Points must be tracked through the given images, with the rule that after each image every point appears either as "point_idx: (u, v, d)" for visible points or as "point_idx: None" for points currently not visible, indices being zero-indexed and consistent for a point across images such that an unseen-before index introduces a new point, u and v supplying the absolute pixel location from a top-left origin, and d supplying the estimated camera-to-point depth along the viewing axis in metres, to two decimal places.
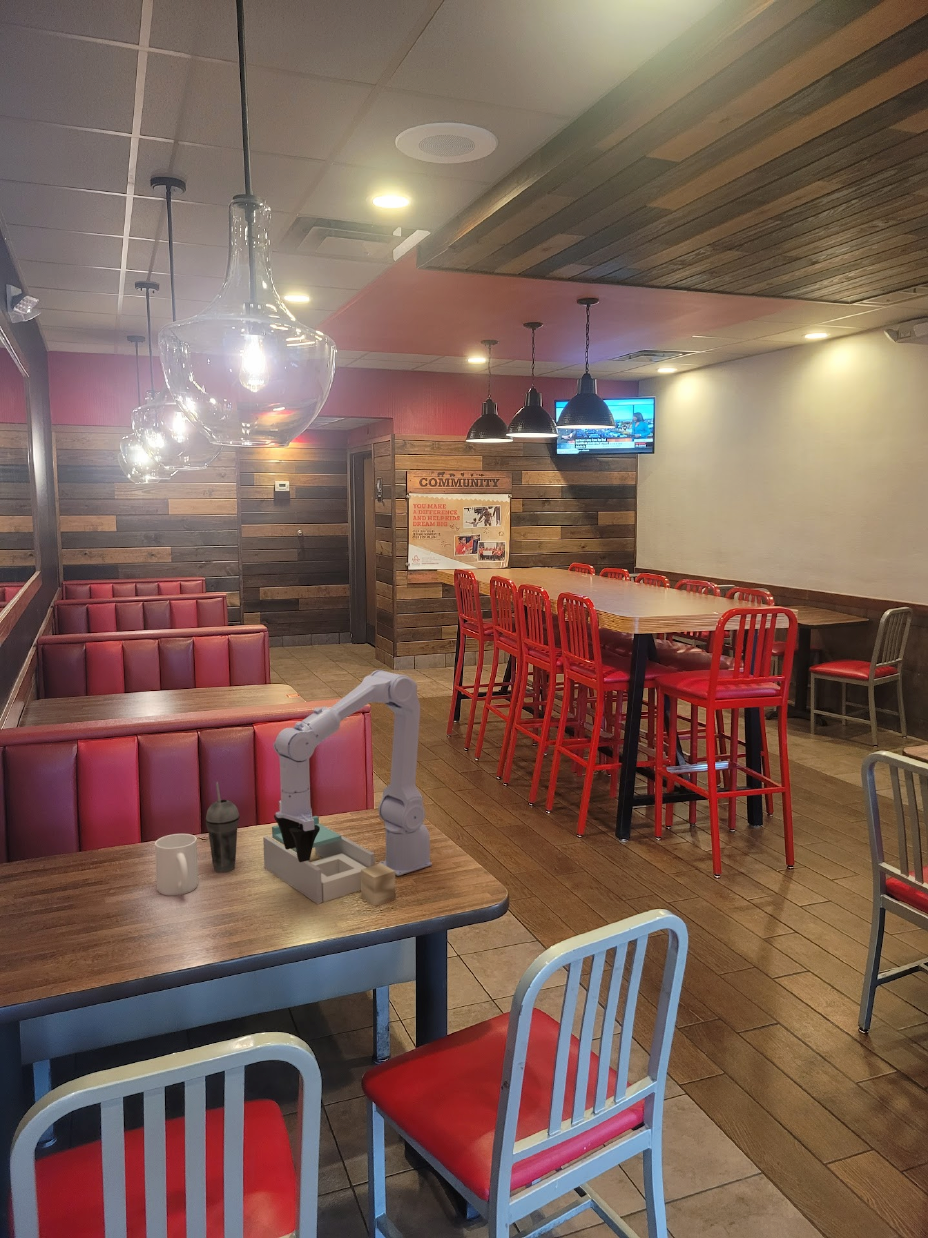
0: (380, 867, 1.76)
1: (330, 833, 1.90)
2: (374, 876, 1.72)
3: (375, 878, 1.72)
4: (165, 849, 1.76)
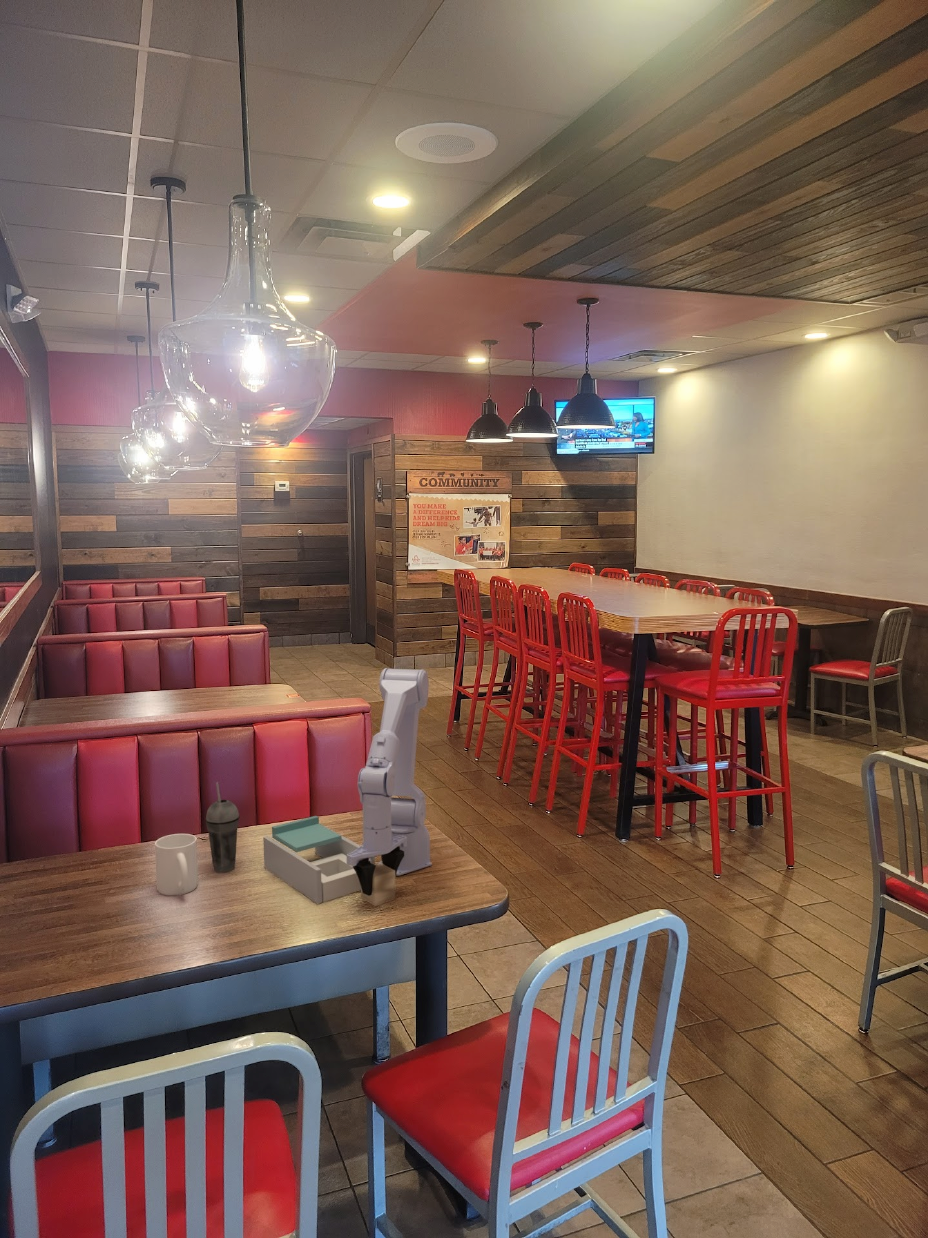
0: (380, 867, 1.76)
1: (330, 833, 1.90)
2: (374, 875, 1.72)
3: (375, 878, 1.72)
4: (165, 849, 1.76)
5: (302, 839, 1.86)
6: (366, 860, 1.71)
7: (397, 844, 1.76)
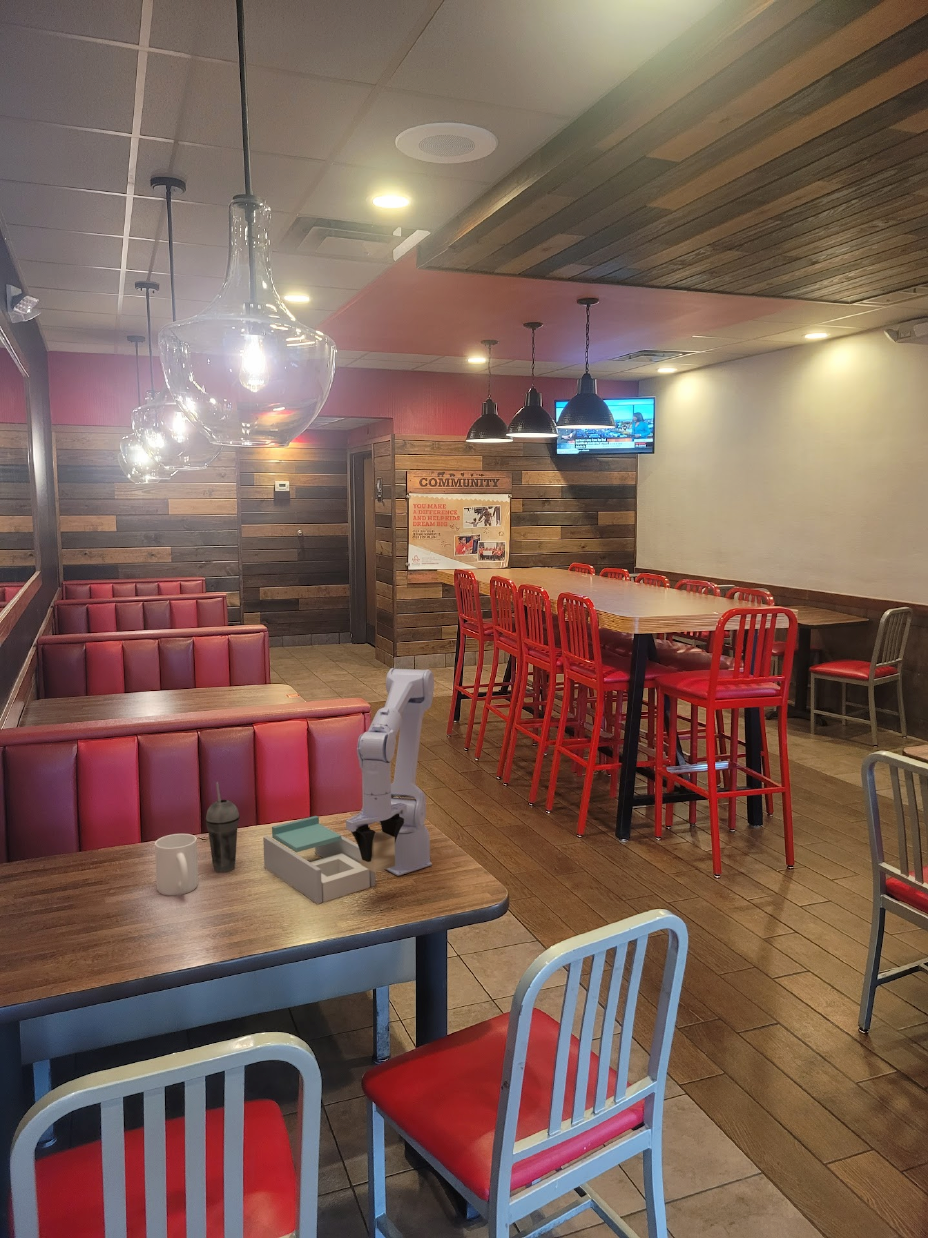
0: (380, 834, 1.76)
1: (330, 833, 1.90)
2: (374, 842, 1.71)
3: (375, 844, 1.71)
4: (165, 849, 1.76)
5: (302, 839, 1.86)
6: (365, 826, 1.71)
7: (397, 811, 1.75)
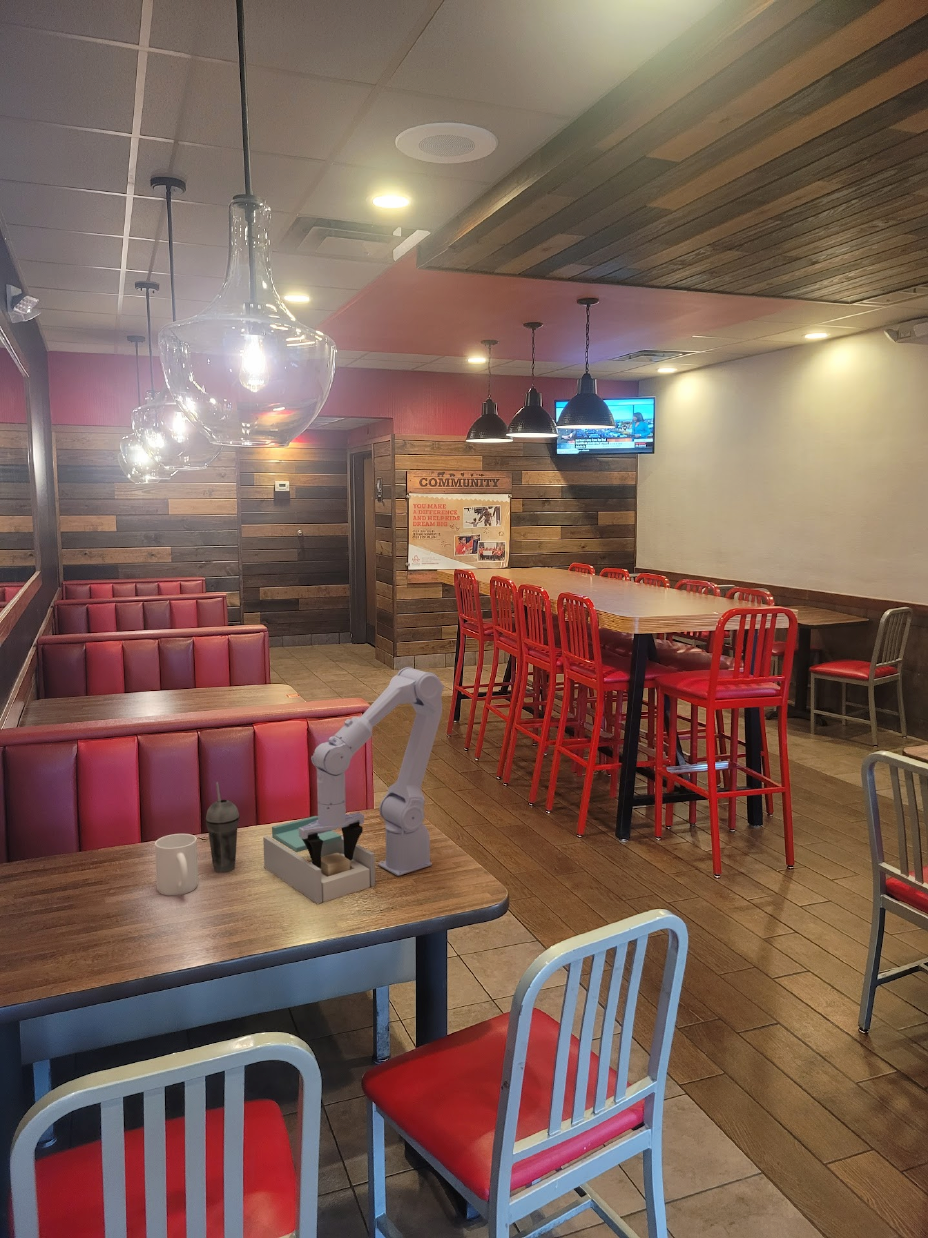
0: (336, 856, 1.82)
1: (330, 833, 1.90)
2: (328, 864, 1.78)
3: (329, 867, 1.78)
4: (165, 849, 1.76)
5: None
6: None
7: (352, 820, 1.81)
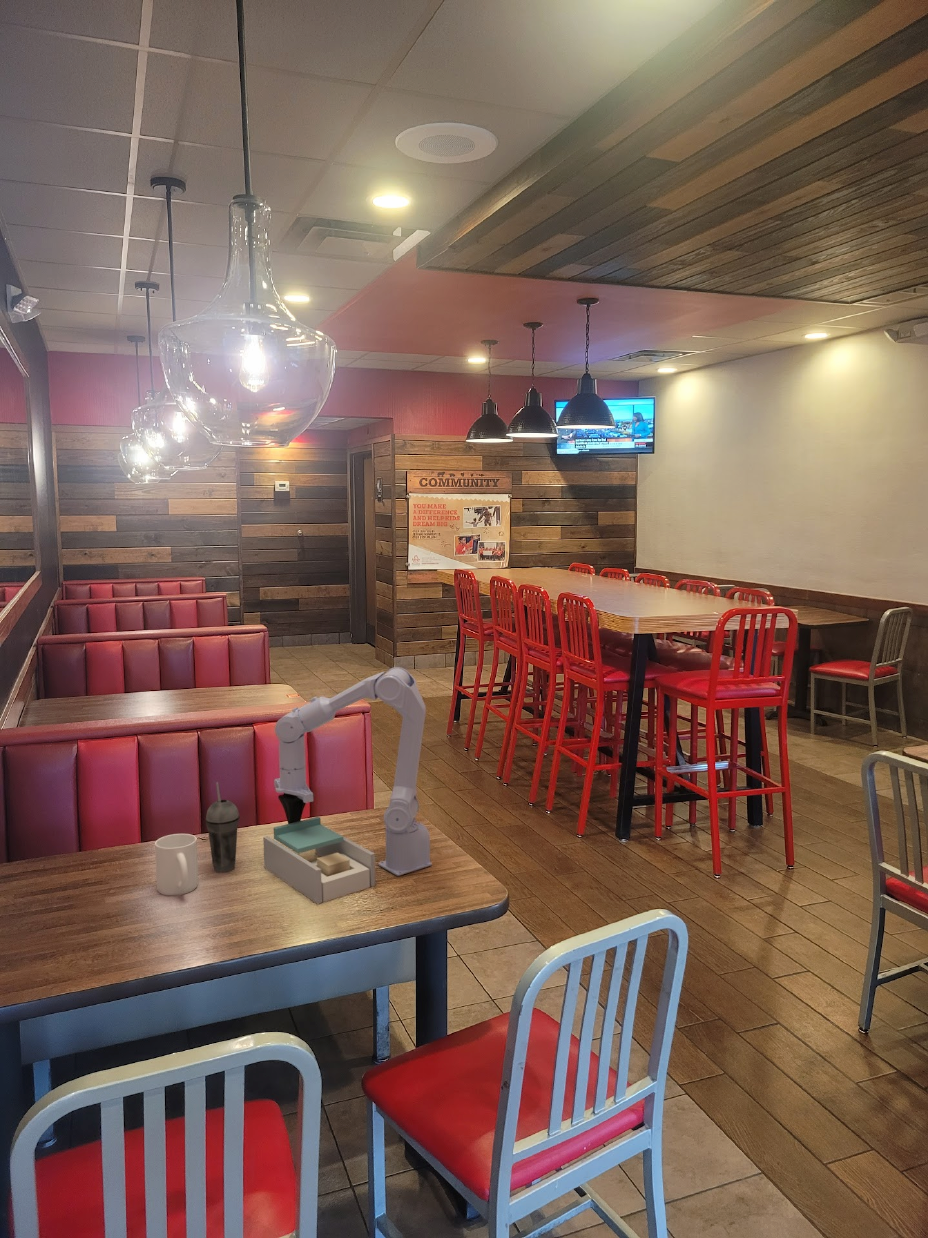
0: (336, 856, 1.82)
1: (332, 834, 1.89)
2: (328, 864, 1.78)
3: (329, 867, 1.78)
4: (165, 849, 1.76)
5: (304, 840, 1.85)
6: None
7: None
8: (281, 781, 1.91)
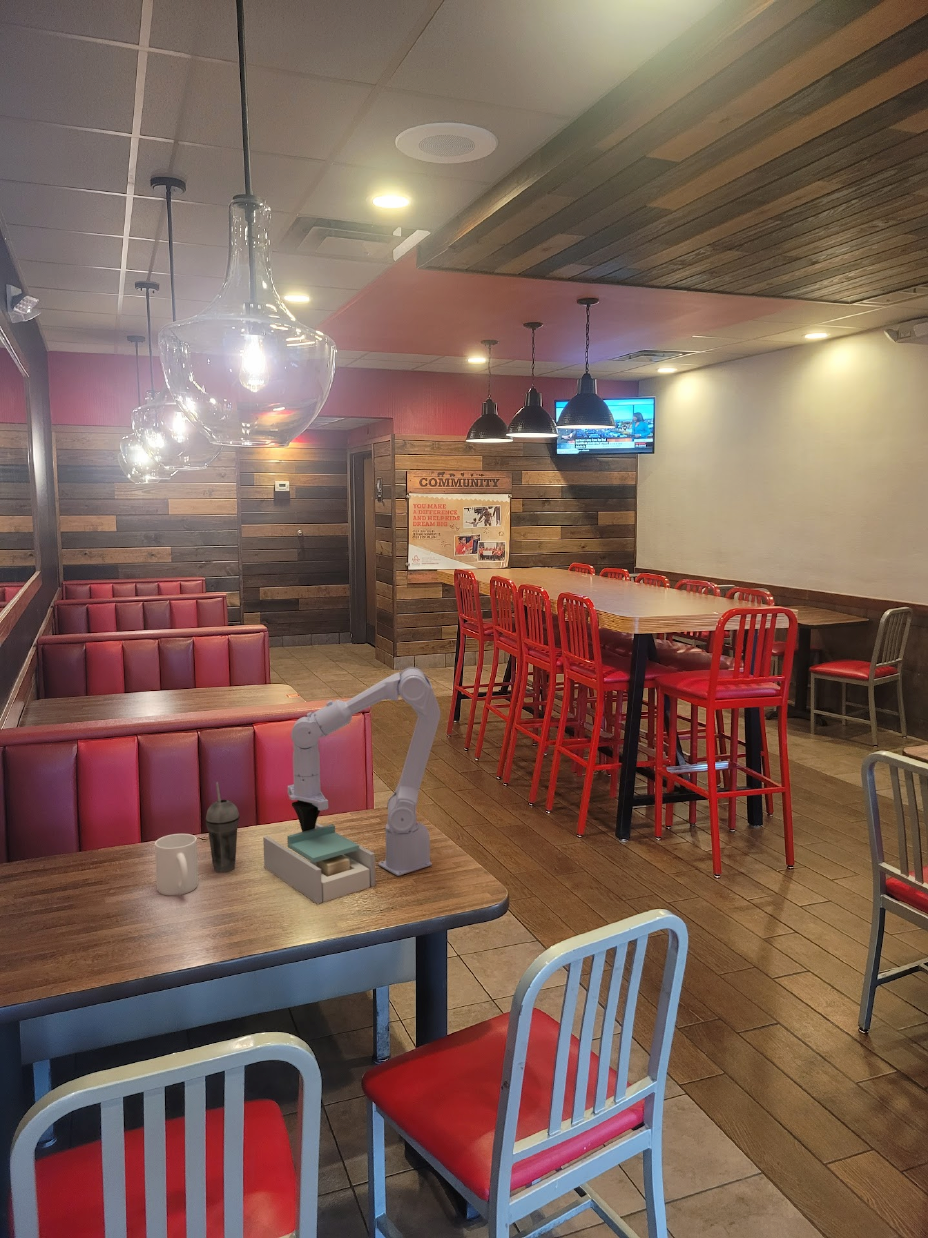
0: (336, 856, 1.82)
1: (347, 842, 1.85)
2: (328, 864, 1.78)
3: (329, 867, 1.78)
4: (165, 849, 1.76)
5: (319, 849, 1.81)
6: None
7: None
8: (295, 788, 1.86)
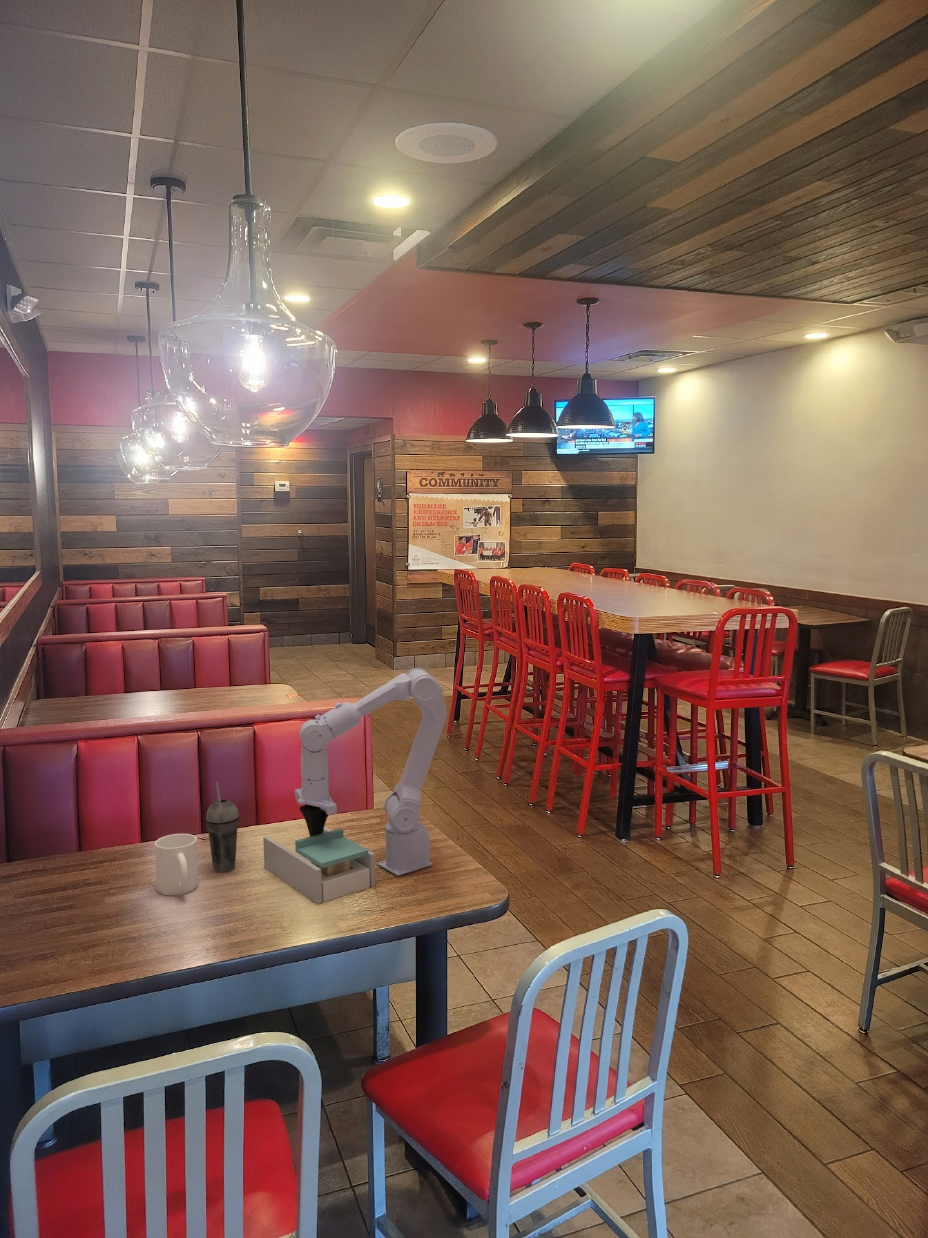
0: None
1: (356, 847, 1.82)
2: None
3: (329, 867, 1.78)
4: (165, 849, 1.76)
5: (328, 854, 1.78)
6: None
7: None
8: (303, 792, 1.83)
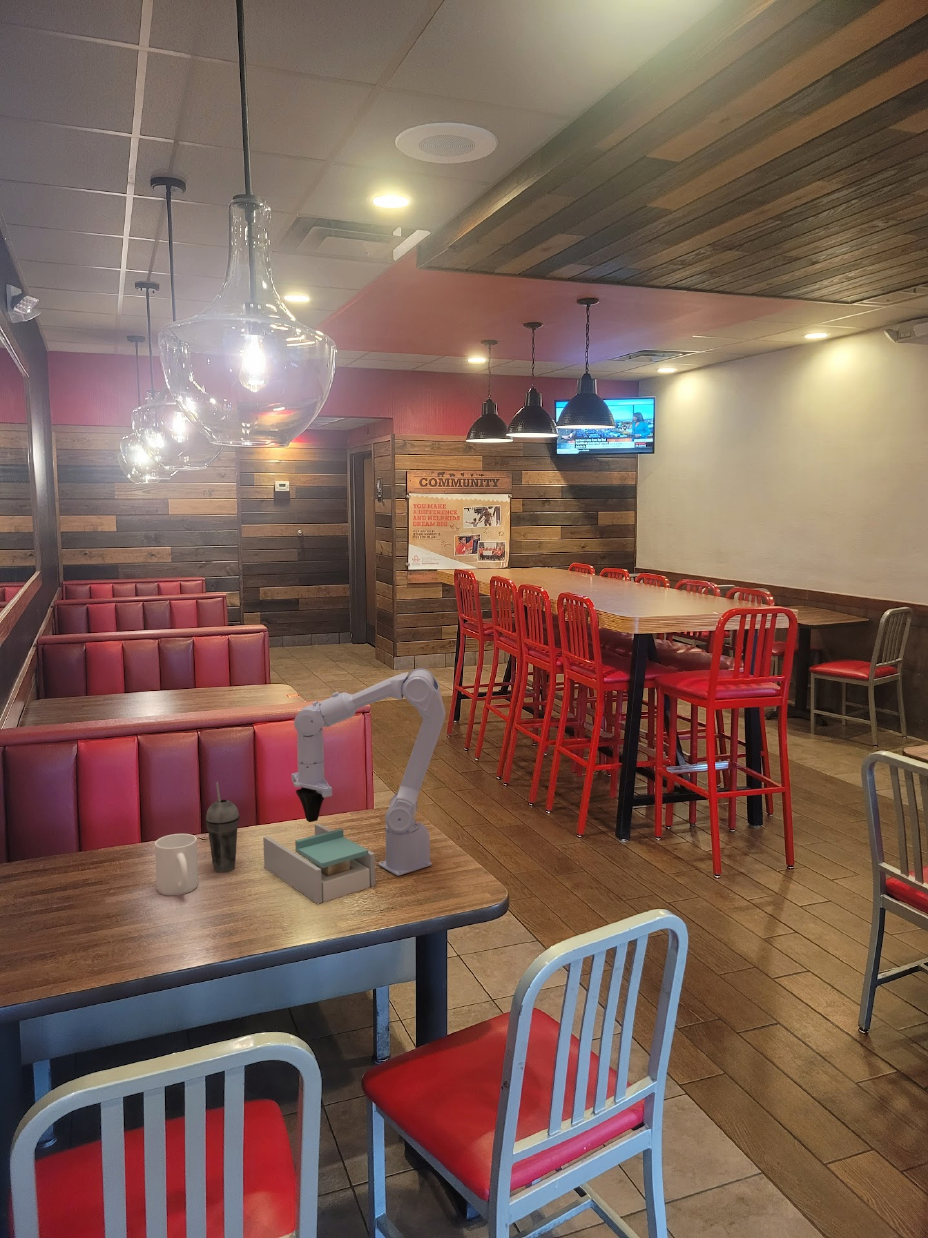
0: None
1: (356, 847, 1.82)
2: None
3: (329, 867, 1.78)
4: (165, 849, 1.76)
5: (328, 854, 1.78)
6: None
7: None
8: (299, 775, 1.88)
